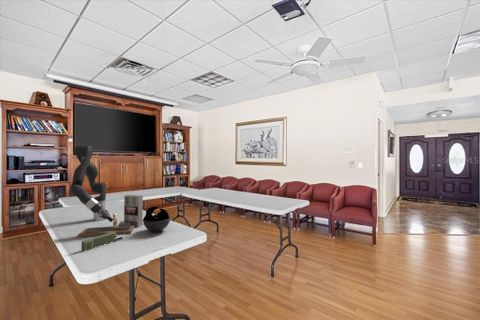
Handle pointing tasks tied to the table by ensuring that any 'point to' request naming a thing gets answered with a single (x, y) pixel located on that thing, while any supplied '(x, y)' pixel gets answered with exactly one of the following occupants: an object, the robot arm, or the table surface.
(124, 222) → the steel keeper
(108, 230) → the wooden track base
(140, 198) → the cassette tape recorder
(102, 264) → the table surface
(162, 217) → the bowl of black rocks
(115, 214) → the brass bolt
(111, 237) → the handheld radio
